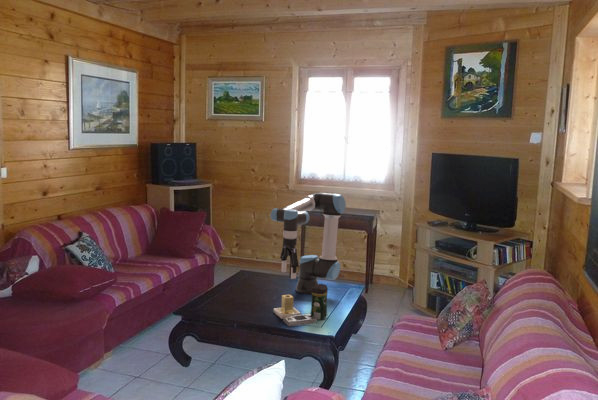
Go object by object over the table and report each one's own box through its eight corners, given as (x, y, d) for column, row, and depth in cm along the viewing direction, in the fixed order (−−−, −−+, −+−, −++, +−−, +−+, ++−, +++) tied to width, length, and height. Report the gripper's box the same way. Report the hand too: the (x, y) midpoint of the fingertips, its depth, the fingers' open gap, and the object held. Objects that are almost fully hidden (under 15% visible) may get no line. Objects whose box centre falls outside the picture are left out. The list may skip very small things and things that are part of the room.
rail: (309, 317, 286) (310, 313, 286) (316, 322, 279) (316, 318, 279) (283, 321, 280) (283, 316, 279) (288, 326, 272) (289, 321, 272)
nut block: (289, 311, 293) (290, 294, 292) (292, 314, 289) (293, 296, 288) (281, 312, 291) (281, 294, 290) (284, 315, 287) (285, 297, 286)
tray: (292, 310, 298) (292, 306, 298) (300, 316, 287) (300, 312, 287) (273, 312, 293) (273, 308, 293) (281, 319, 283) (281, 315, 282)
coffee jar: (315, 313, 293) (316, 281, 291) (328, 316, 290) (329, 284, 288) (308, 318, 285) (309, 286, 282) (321, 321, 281) (323, 288, 279)
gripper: (275, 233, 295) (274, 269, 297) (292, 242, 272) (291, 281, 275) (287, 233, 298) (286, 269, 300) (305, 241, 275) (304, 280, 278)
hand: (288, 275), depth 288 cm, fingers open, 13 cm apart
